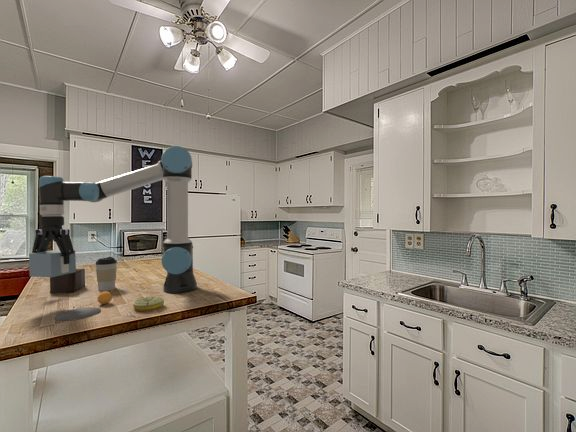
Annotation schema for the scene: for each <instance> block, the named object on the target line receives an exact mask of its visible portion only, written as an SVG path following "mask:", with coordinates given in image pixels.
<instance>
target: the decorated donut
mask: <svg viewBox="0 0 576 432" xmlns="http://www.w3.org/2000/svg"><path fill="white" fill-rule="evenodd" d="M164 303H165V300H164V298H163V297H160V296H147V297H141V298H139V299H136V300H135V301H134V302H133V303H132V306H133V309H134V310H135V311H137V312H140V313H145V312H146V313H147V312H154V311H157V310H160V309H161V308H162V307H163V306H164Z"/></svg>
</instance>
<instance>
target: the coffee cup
mask: <svg viewBox="0 0 576 432" xmlns="http://www.w3.org/2000/svg"><path fill="white" fill-rule="evenodd" d="M117 263H118V260H117V259H115V258H114V257H113V256H107V257H103V258H98V259H97V261H95V273H96V282H97V288H98V289H97V290H98V291H100V292H101V291H102V292H105V291H111V290H114V289H116V279H117V269H118V267H117Z"/></svg>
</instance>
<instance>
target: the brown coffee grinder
mask: <svg viewBox="0 0 576 432" xmlns="http://www.w3.org/2000/svg"><path fill="white" fill-rule="evenodd" d="M84 288H86V269H85V268H76V272H73V273H69V274H64V275H60V276H55V277H49V294H69V293H70V294H71V293H75V292H78V291H80V290H83V289H84Z"/></svg>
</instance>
